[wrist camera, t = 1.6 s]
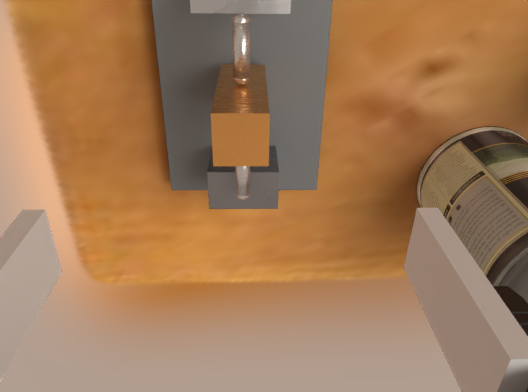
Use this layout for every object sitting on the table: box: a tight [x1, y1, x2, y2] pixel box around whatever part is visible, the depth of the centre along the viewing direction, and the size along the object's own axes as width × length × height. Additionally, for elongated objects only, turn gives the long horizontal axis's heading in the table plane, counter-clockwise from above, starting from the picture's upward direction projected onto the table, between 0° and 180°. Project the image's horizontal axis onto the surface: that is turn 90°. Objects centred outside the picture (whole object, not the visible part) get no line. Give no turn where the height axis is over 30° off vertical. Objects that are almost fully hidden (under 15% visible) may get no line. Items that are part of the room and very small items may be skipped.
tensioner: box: [207, 146, 279, 209], centre depth 34 cm, size 3×5×4 cm, turn 89°
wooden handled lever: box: [190, 0, 291, 200], centre depth 28 cm, size 13×5×10 cm, turn 179°
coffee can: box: [417, 127, 528, 303], centre depth 33 cm, size 10×10×14 cm
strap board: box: [151, 0, 332, 190], centre depth 31 cm, size 26×12×2 cm, turn 179°
